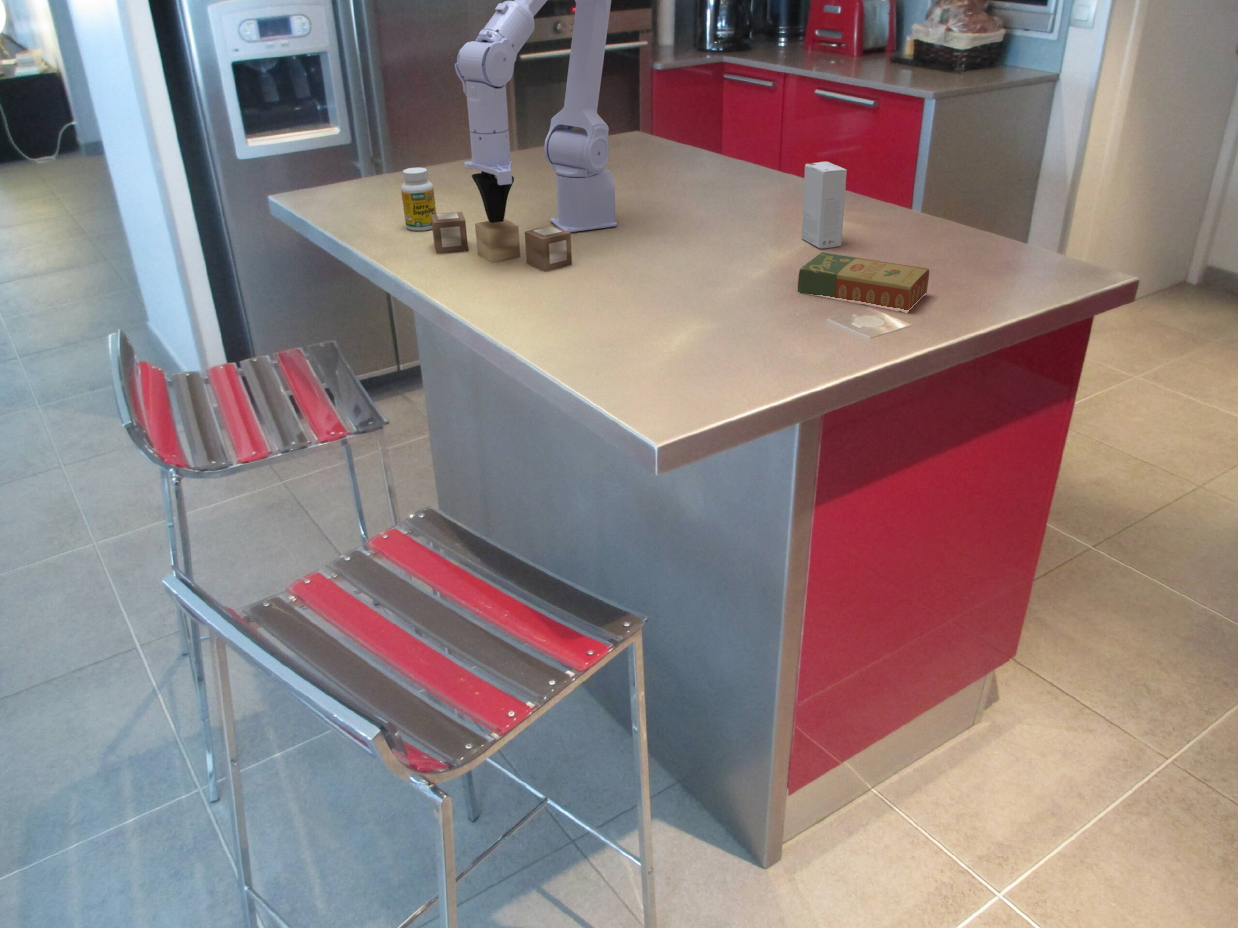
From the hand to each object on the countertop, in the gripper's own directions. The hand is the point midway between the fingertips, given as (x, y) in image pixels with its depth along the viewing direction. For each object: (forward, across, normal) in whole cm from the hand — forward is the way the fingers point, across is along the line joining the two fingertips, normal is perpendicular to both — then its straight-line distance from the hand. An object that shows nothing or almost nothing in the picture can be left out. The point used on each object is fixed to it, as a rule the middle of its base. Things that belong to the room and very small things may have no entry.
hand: (496, 221), depth 152 cm
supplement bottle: (+6, -20, -8) cm, 22 cm away
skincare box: (+6, +15, +49) cm, 52 cm away
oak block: (+6, 0, 0) cm, 6 cm away
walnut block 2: (+6, +7, +6) cm, 11 cm away
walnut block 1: (+6, -7, -6) cm, 11 cm away
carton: (+6, +37, +42) cm, 56 cm away
